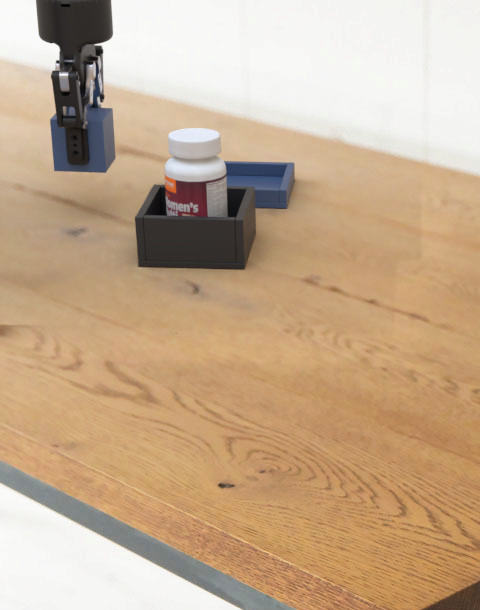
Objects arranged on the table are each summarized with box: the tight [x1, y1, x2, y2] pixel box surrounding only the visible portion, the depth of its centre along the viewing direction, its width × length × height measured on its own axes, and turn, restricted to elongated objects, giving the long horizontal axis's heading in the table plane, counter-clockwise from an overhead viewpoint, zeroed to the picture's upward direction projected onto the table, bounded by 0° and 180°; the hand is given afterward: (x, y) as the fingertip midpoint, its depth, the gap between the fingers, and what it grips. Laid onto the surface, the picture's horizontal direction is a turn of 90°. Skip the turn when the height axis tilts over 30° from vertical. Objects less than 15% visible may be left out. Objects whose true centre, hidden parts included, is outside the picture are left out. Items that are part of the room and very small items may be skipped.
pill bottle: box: [164, 127, 228, 217], centre depth 135 cm, size 6×6×11 cm
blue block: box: [49, 107, 116, 174], centre depth 144 cm, size 6×6×6 cm
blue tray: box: [223, 160, 296, 209], centre depth 154 cm, size 14×11×2 cm
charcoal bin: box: [134, 184, 257, 270], centre depth 137 cm, size 11×11×5 cm
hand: (84, 155), depth 144 cm, fingers closed on blue block, 5 cm apart
